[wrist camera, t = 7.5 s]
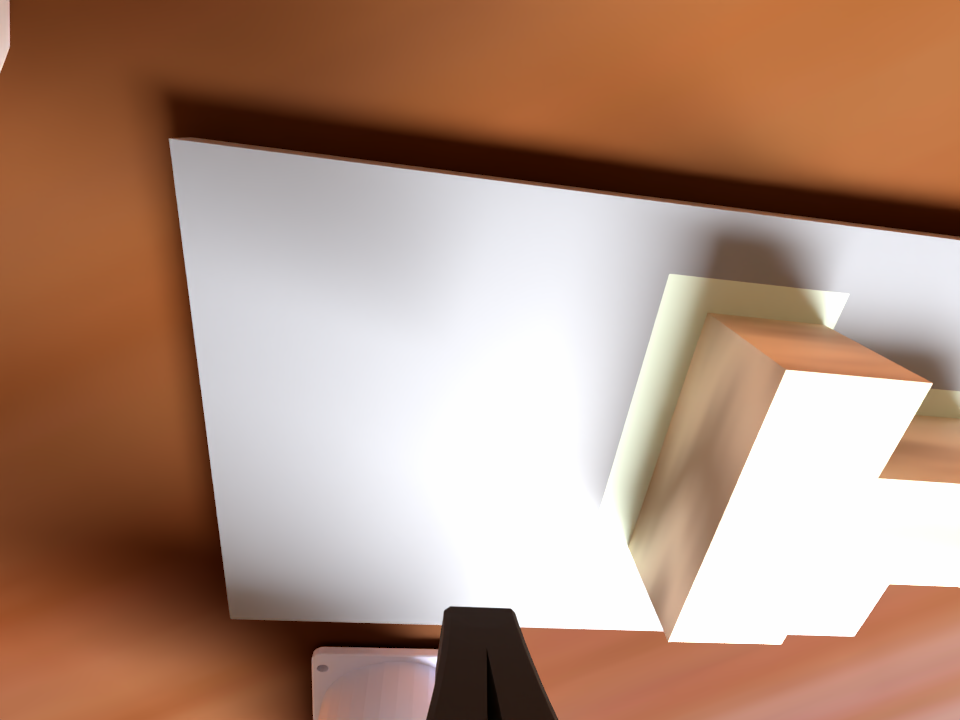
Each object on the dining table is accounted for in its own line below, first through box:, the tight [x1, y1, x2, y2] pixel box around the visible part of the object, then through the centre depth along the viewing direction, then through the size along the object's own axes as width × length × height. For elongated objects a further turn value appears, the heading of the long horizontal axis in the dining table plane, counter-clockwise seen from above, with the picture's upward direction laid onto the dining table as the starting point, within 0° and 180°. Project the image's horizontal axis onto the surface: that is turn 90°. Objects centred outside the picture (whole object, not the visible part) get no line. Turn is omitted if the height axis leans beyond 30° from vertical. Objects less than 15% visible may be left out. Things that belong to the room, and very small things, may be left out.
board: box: [169, 137, 960, 636], centre depth 18 cm, size 18×28×1 cm, turn 83°
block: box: [628, 313, 960, 644], centre depth 17 cm, size 10×11×4 cm
